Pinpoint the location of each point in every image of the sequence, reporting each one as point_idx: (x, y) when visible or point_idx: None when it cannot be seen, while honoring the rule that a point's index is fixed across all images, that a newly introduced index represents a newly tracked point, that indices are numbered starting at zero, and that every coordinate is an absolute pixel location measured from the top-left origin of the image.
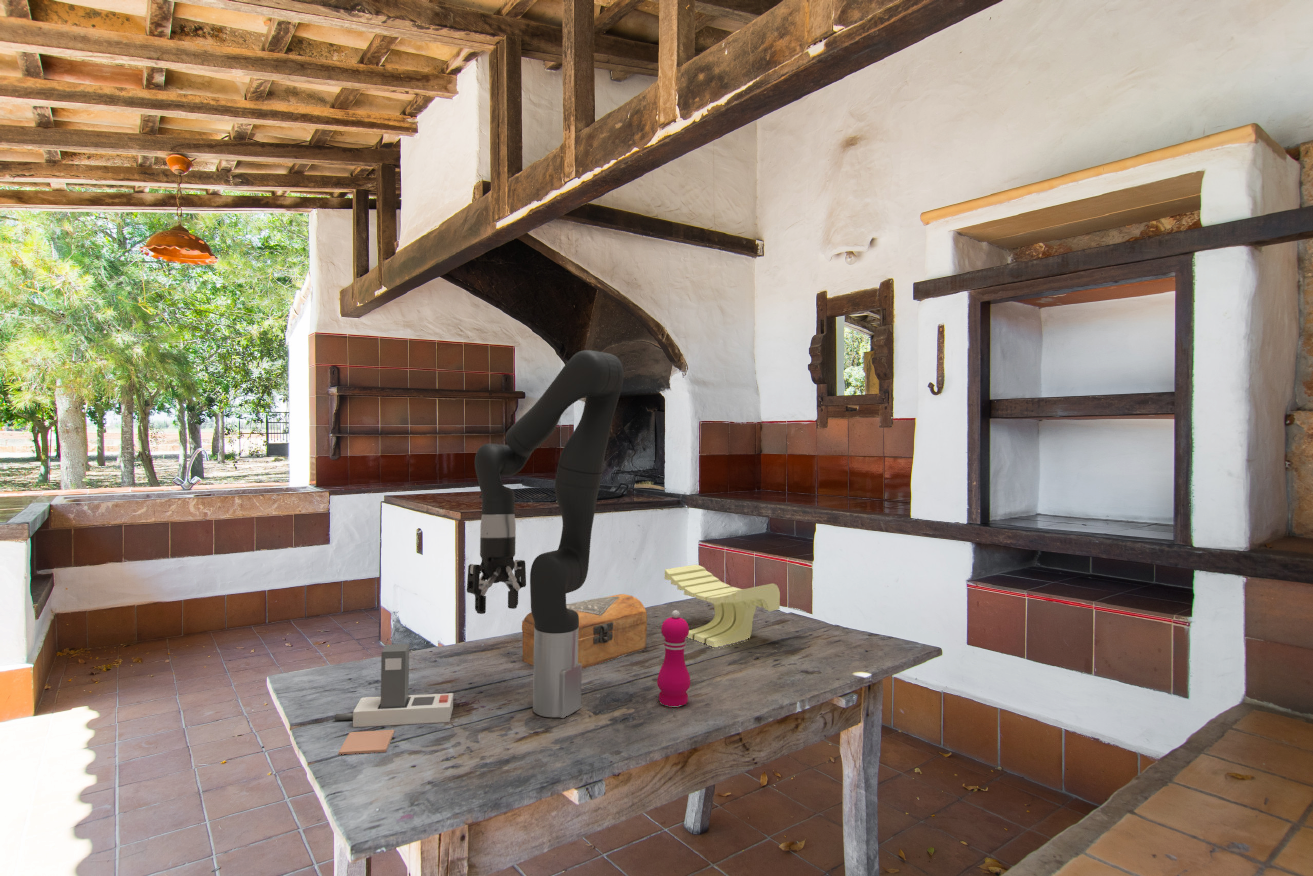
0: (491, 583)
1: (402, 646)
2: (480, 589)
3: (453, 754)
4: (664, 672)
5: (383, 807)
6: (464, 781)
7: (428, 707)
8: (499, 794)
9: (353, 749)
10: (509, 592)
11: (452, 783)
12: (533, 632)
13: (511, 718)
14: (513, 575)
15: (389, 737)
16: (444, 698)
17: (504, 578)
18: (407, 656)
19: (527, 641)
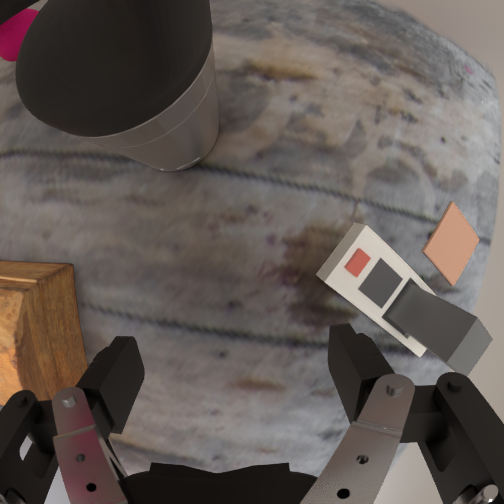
0: (360, 437)
1: (462, 351)
2: (411, 412)
3: (400, 121)
4: (26, 21)
5: (478, 99)
6: (414, 62)
7: (390, 250)
8: (394, 16)
9: (470, 233)
10: (118, 420)
11: (425, 70)
12: (54, 377)
13: (264, 151)
14: (68, 475)
15: (438, 231)
16: (361, 257)
17: (167, 488)
18: (448, 332)
19: (70, 383)
